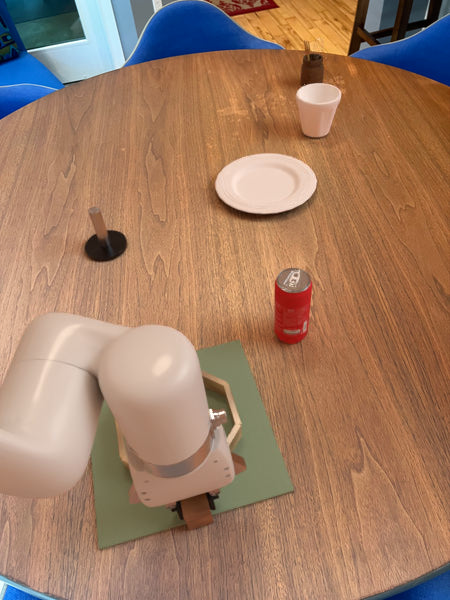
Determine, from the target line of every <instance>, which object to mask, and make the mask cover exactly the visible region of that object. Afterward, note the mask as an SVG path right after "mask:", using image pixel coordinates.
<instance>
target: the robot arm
mask: <svg viewBox="0 0 450 600" xmlns="http://www.w3.org/2000/svg"><path fill="white" fill-rule="evenodd" d="M196 351H197V350H196V348H195V347H194V345H193V343H192V342H191V341H190V339H189V338H188V337H187V336H186V335H185V334H183V333H182V332H181V331H179V330H178V329H176V328H173V327H171V326H167V325H164V324H155V323H152V324H143V325H138V326H135V327H132V326H127V325H122V324H117V323H113V322H109V321H105V320H101V319H97V318H93V317H88V316H85V315H80V314H76V313H70V312H59V311H53V312H45V313H42V314H40V315H38V316H36V317H34V318H33V319H32V320H31V321H30V322H29V323H28V324H27V325H26V327H25V329H24V331H23V333H22V334H21V337H20V339H19V342H18V344H17V347H16V349H15V351H14V354H13V357H12V358H11V361H10V364H9V367H8V369H7V371H6V374H5V376H4V379H3V381H2V384H1V386H0V494H2V495H5V496H10V497H14V498H19V499H27V500H47V499H53V498H58V497H59V496H62V495H64V494H65V493H68V492H69V491H70V490H72V489H73V488H74V487H75V486H76V485H77V484H78V483H79V482H80V481H81V479H82V478H83V476H84V473H85V472H86V469H87V467H88V464H89V460H90V458H91V450H92V447H93V443H94V439H95V434H96V430H97V426H98V422H99V418H100V414H101V409H102V405H103V401H104V400H105V401H106V402H107V404H108V406H109V408H110V410H111V412H112V414H113V416H114V418H115V419H116V421H117V423H118V425H119V427H120V429H121V431H122V433H123V435H124V437H125V438H126V455H127V460H128V464H129V469H130V473H131V476H132V479H133V484H132V485H131V487H130V489H129V491H128V496H129V503H130V504H135V503H143V504H144V505H146V506H148V507H157V506H161V505H165V507H166V509H171V511H172V512H175V511H177V513H178V515H179V518H180V520H183V519H184V517H183V513H182V508H181V503H180V500H182V499H186V498H189V497H193V496H196V495H199V494H203V493H206V495H207V499H208V503H209V506H210V510H212V511H213V510H216V508H215V504H214V500H215V499H218V498H219V495H218V494H220V493H221V492H220V488H221V487H224V486H227V485H229V484H230V483H231V482H232V481H233V479H234V477H235V476H236V475H237V474H239V473H241V472H243V471H245V470H246V469H247V467H246V463H245V460H244V458H243V457H241V456H239V455H237V454H235V453H233V452H230V448H229V445H228V441H227V437H226V434H225V431H224V428H223V426H222V424H225V423H228V420H227V416H226V412H225V409H224V408H223V409H220V410H216V409H214V410H212V409H209V408H208V403H207V398H206V393H205V388H204V383H203V378H202V373H201V368H200V363H199V359H198V356H197V353H196Z"/></svg>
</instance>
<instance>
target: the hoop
mask: <svg viewBox="0 0 450 600" xmlns="http://www.w3.org/2000/svg"><path fill="white" fill-rule="evenodd" d="M201 373H202V378H203V383H204V387H206V388H208V389H210V390H212V391H214V392H216V393H218V394H220V395H223V396H225V399H226V402H227V405H228V408H229V412H230V415H231V418H232V422H233V425H234V427H233V428H232V430H231V432H230V434H229V435H228V437H227V441H228V445H229V448H230V452H233V451H234V449H235V447H236V446H237V444H238V442H239V440H240V439H241V437H242V425H241V421H240V418H239V414H238V411H237V408H236V405H235V402H234V399H233V395H232V392H231V389H230V386H229V383H227V382H226V381H224V380H222V379H219V378H217V377H215V376H213V375H211V374H209V373H207V372H204V371H202V370H201ZM115 424H116V432H117V440H118V448H119V456H120V459H121V461H122V463H123V464H124V466H125V467H126V469H127V470H129V471H130V469H129V464H128V460H127V455H126V438H125V437H124V435H123V433H122V431H121V429H120V427H119V425H118V423H117V421H116V419H115ZM180 503H181V508H182V513H183V517H184V519H185V522H186V524H185V525H186V526H187V528H188V531H191V530H196V529H199V528H202V527H205V526H209V525H212V524H214V517H213V516H212V513H211V510H210V506H209V503H208V499H207V495H206V493H203V494H199V495H196V496H193V497H189V498H186V499H182V500H180Z"/></svg>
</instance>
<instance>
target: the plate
mask: <svg viewBox="0 0 450 600" xmlns="http://www.w3.org/2000/svg"><path fill="white" fill-rule="evenodd" d="M317 184H318V180H317V177H316V173H315V172H314V171H313V169H312V168H311V167H310V166H309V165H308V164H306V163H305V162H303V161H302V160H300V159H299V158H295V157H293V156H290V155H286V154H280V153H272V152H271V153H269V152H265V153H254V154H250V155H246V156H243V157H240V158H237V159H235V160H233V161H231V162H230V163H228V164H227V165H226V166H224V167H223V168H222V169H221V170H220V172H218V174H217V176H216V179H215V181H214V185H215V186H214V187H215V192H216V194H217V196H218V198H219V199H220V200H221V201H222V202H223V203H224V204H226V206H228V207H230V208H232V209H233V210H236V211H240V212H243V213H247V214H253V215H263V216H264V215H275V214H276V215H277V214H281V213H284V212H285V213H286V212H288V211H292V210H294V209H296V208H298V207H301V206H302V205H304V204H305V203H306V202H308V201H309V199H311V198H312V196H313V195H314V193H315V192H316V188H317Z"/></svg>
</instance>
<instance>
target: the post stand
mask: <svg viewBox="0 0 450 600" xmlns="http://www.w3.org/2000/svg"><path fill="white" fill-rule="evenodd" d="M87 213H88V215H89V218H90V220H91V224H92V226H93V229H94V231H95V233H94V234H93V235H91V236H90V237H89V238H88V239H87V240H86V241H85V244H84V252H85V255H86V256H87V258H88V259H90V260H92V261H95V262H108V261H109V262H110V261H112V260H115V259H117V258H119V257H120V256H121V255H123V254H124V253H125V251H126V250H127V248H128V240H127V237H126V235H125V234H124V233H122V232H121V231H119V230H114V229H108V230H107V227H106V224H105V221H104V218H103V215H102V212H101V209H100V207H98V206H92V207H90V208H89V209H88V212H87Z"/></svg>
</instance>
